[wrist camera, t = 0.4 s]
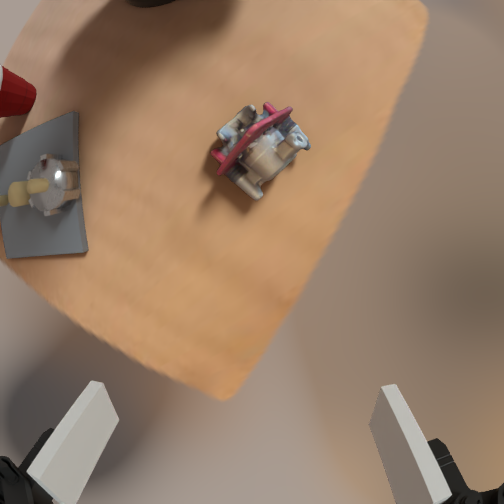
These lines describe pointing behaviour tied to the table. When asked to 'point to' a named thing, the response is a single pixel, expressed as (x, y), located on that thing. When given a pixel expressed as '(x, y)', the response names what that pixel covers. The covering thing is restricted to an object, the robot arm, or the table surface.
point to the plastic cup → (15, 94)
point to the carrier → (19, 189)
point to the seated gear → (55, 184)
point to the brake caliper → (258, 147)
